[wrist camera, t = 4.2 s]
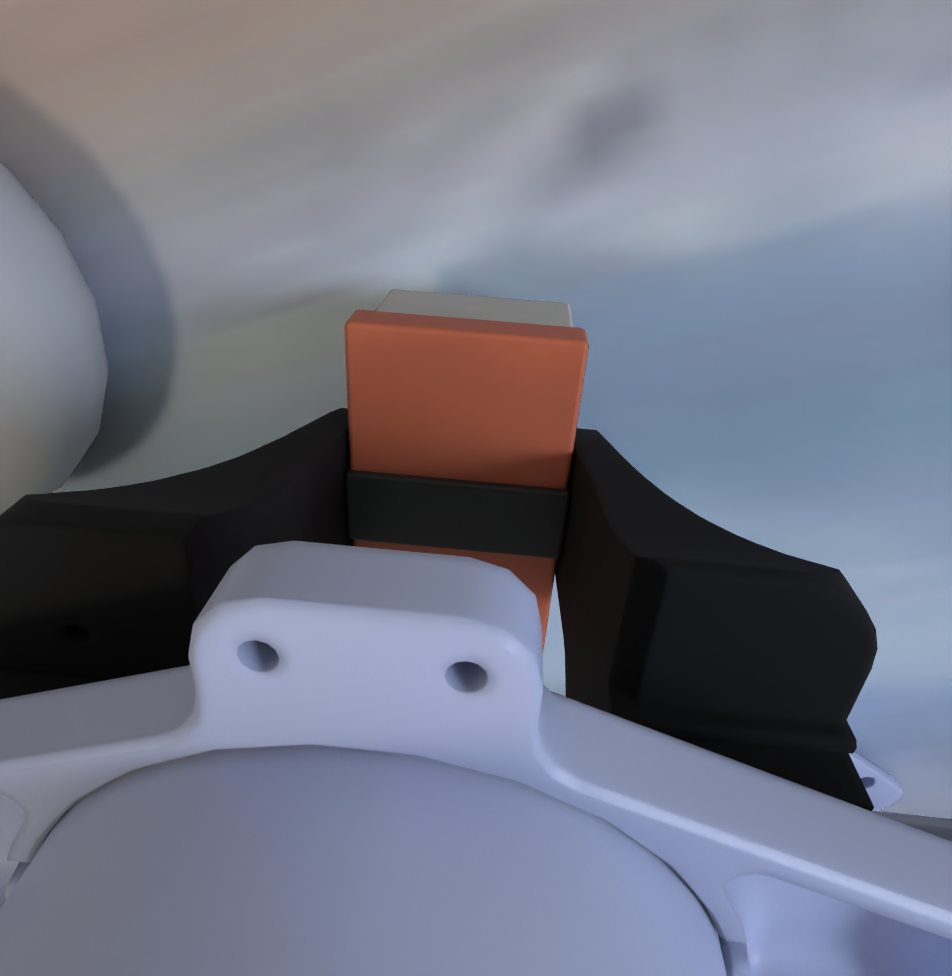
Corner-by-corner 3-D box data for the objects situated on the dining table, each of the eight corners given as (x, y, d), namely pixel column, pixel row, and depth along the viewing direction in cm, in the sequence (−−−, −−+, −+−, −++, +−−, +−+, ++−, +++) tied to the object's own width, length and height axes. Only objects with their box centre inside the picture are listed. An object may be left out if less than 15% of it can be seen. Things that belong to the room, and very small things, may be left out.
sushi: (543, 560, 17) (544, 666, 13) (384, 545, 17) (351, 647, 14) (580, 287, 13) (594, 345, 10) (382, 272, 13) (336, 323, 10)
